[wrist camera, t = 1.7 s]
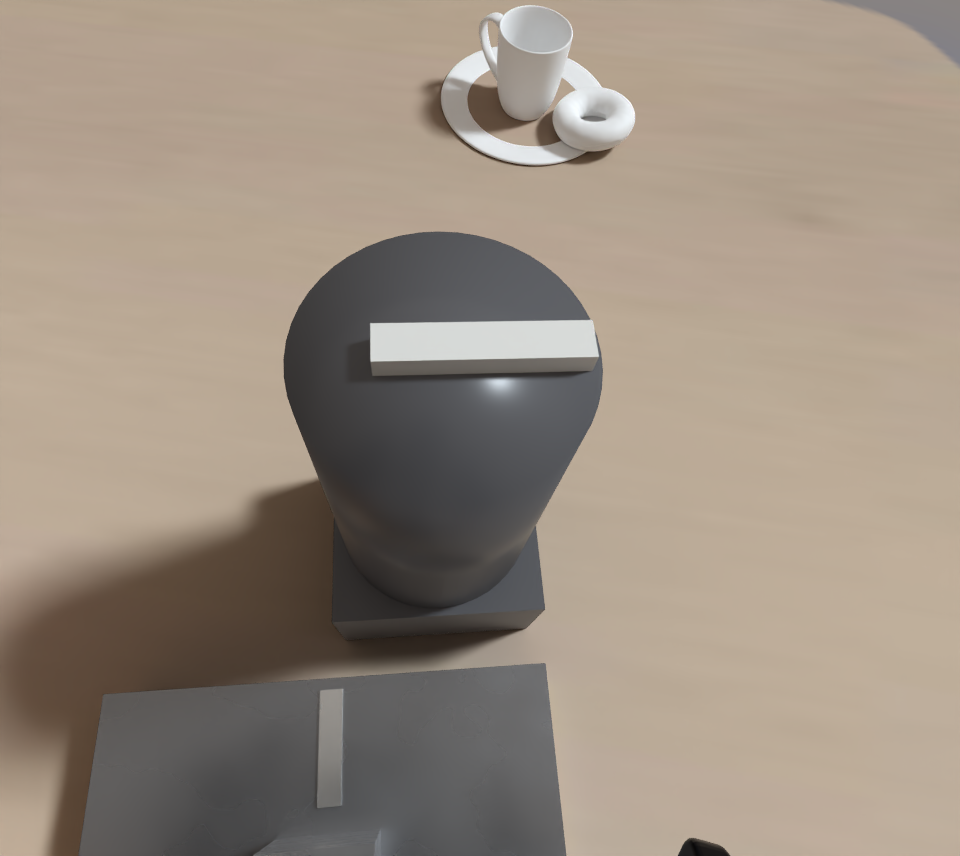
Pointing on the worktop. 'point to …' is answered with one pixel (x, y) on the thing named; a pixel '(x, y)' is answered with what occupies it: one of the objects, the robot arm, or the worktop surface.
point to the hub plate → (330, 768)
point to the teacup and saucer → (536, 90)
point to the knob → (440, 427)
